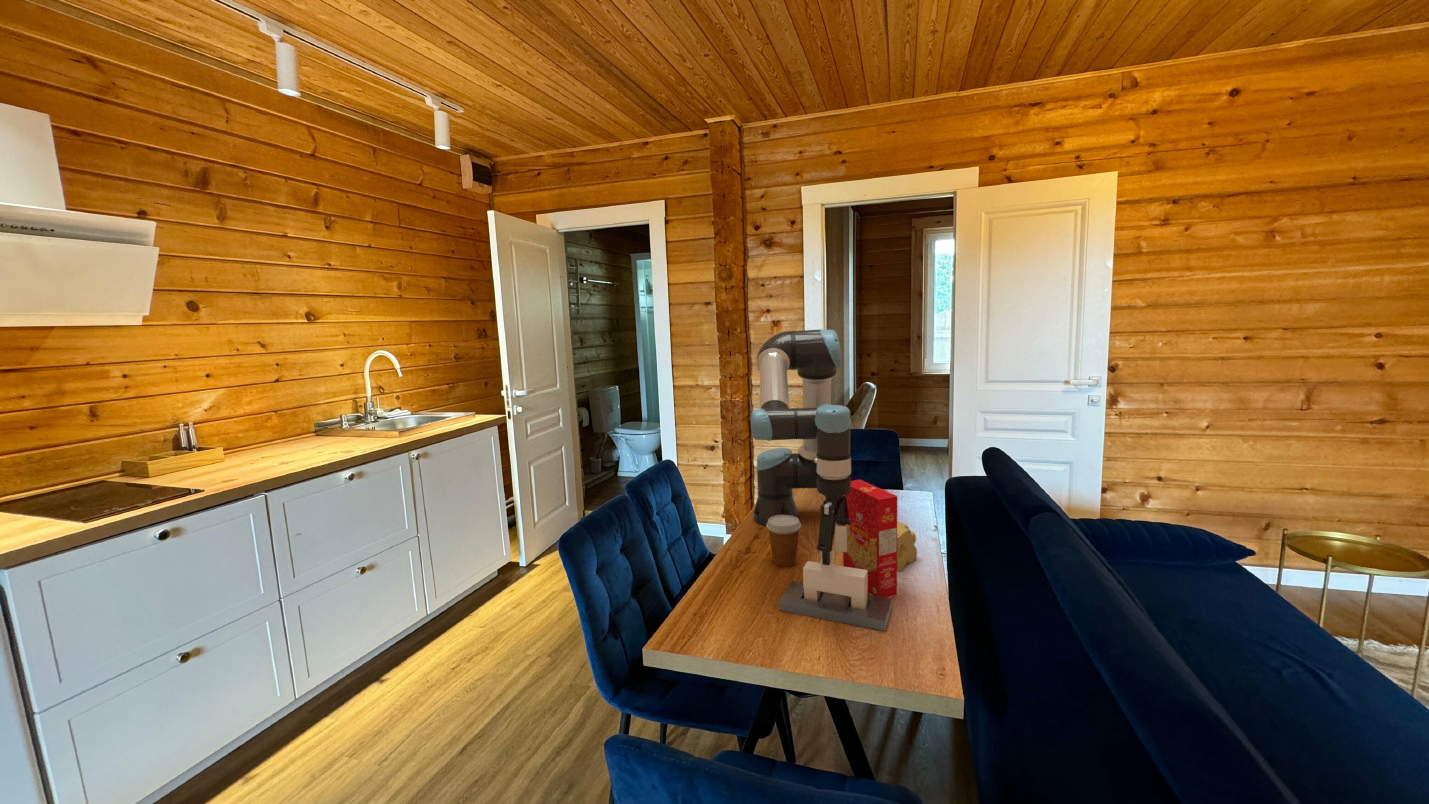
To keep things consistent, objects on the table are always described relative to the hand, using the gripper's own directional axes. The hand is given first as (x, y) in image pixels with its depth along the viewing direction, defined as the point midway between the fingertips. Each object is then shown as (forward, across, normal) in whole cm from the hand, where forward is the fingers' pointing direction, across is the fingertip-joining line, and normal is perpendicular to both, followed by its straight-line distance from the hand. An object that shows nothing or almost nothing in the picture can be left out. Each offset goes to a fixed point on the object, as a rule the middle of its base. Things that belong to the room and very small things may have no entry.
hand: (834, 563), depth 128 cm
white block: (+11, 0, 0) cm, 11 cm away
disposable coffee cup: (+12, -20, -19) cm, 30 cm away
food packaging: (+12, -15, +5) cm, 19 cm away
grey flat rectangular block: (+11, 0, 0) cm, 11 cm away
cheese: (+12, -30, +8) cm, 33 cm away
